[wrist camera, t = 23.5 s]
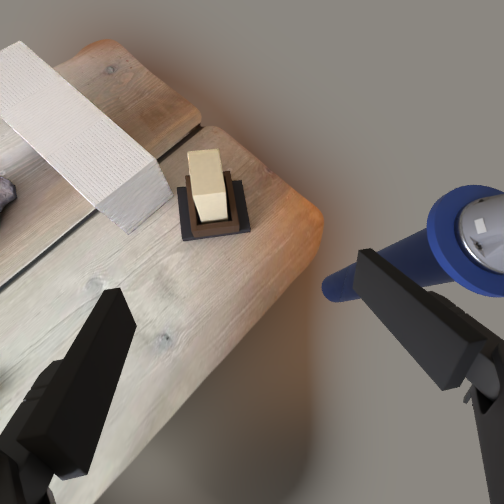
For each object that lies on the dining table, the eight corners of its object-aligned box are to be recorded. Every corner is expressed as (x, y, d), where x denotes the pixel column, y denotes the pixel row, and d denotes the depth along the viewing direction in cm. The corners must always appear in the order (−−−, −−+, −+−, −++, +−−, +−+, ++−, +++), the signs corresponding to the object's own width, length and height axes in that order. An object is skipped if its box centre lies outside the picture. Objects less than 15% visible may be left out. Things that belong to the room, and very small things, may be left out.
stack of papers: (173, 195, 45) (155, 158, 35) (128, 234, 42) (94, 206, 32) (64, 98, 49) (19, 40, 39) (17, 128, 47) (-45, 73, 36)
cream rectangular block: (222, 189, 44) (218, 148, 34) (228, 224, 42) (225, 192, 32) (198, 192, 44) (187, 151, 33) (203, 227, 42) (192, 196, 31)
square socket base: (241, 183, 47) (241, 169, 42) (250, 233, 44) (252, 223, 40) (178, 190, 45) (172, 176, 41) (183, 242, 43) (178, 233, 38)
